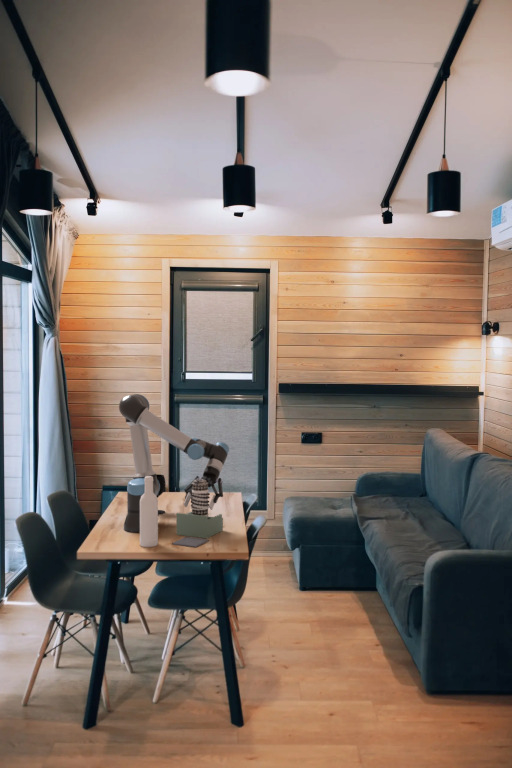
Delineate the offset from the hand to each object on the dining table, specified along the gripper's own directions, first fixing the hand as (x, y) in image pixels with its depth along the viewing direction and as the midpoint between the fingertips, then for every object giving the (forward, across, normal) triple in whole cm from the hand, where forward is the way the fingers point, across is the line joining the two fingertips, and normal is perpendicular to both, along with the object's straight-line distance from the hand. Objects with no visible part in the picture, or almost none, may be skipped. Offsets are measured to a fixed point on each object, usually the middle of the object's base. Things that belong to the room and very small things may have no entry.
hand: (197, 506), depth 298 cm
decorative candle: (+8, 0, -11) cm, 13 cm away
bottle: (+27, +10, +9) cm, 30 cm away
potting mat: (+19, -5, +1) cm, 20 cm away
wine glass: (-11, +42, -29) cm, 52 cm away
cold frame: (+7, 0, -11) cm, 13 cm away
